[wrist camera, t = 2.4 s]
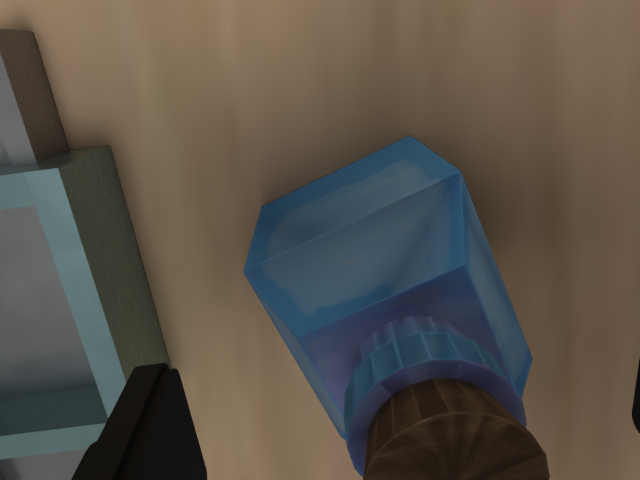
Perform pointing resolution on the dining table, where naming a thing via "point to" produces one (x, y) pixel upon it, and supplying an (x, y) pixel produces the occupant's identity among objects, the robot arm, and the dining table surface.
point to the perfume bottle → (400, 318)
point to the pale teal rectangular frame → (61, 281)
